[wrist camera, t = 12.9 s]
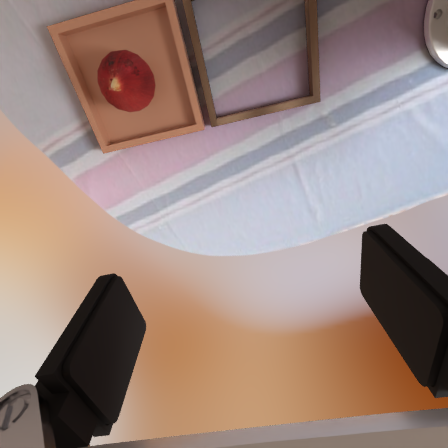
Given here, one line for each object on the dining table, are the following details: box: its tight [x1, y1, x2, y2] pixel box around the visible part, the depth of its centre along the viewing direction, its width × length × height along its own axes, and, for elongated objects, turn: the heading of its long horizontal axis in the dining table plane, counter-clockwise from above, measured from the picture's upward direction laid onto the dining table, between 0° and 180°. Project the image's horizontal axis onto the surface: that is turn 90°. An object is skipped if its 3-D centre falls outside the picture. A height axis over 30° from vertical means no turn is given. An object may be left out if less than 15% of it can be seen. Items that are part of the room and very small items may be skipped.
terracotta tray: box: [47, 0, 205, 154], centre depth 31 cm, size 14×14×2 cm
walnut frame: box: [182, 0, 320, 127], centre depth 29 cm, size 14×14×2 cm
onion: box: [97, 50, 156, 112], centre depth 28 cm, size 6×6×8 cm
